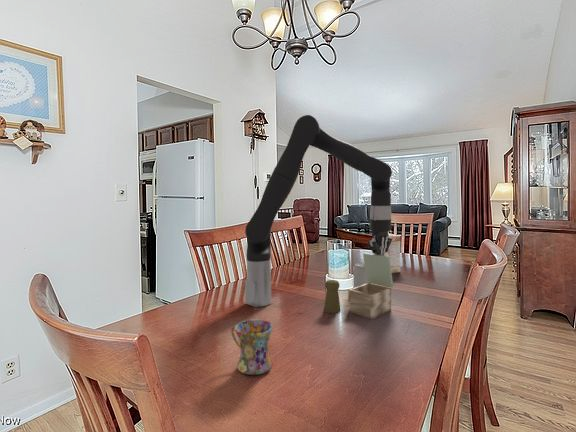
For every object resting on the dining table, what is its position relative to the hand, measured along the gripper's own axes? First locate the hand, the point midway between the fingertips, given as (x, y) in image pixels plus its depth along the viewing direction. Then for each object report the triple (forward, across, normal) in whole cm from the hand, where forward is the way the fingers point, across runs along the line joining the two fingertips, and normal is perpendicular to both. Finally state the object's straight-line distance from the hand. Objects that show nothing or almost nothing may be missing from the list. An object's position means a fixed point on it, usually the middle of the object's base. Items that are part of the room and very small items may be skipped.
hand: (380, 264), depth 124 cm
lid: (+2, +2, 0) cm, 3 cm away
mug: (+16, +61, +1) cm, 63 cm away
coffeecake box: (+16, -53, -29) cm, 63 cm away
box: (+16, +7, 0) cm, 17 cm away
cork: (+16, +16, -10) cm, 25 cm away
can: (+16, -10, -15) cm, 24 cm away
